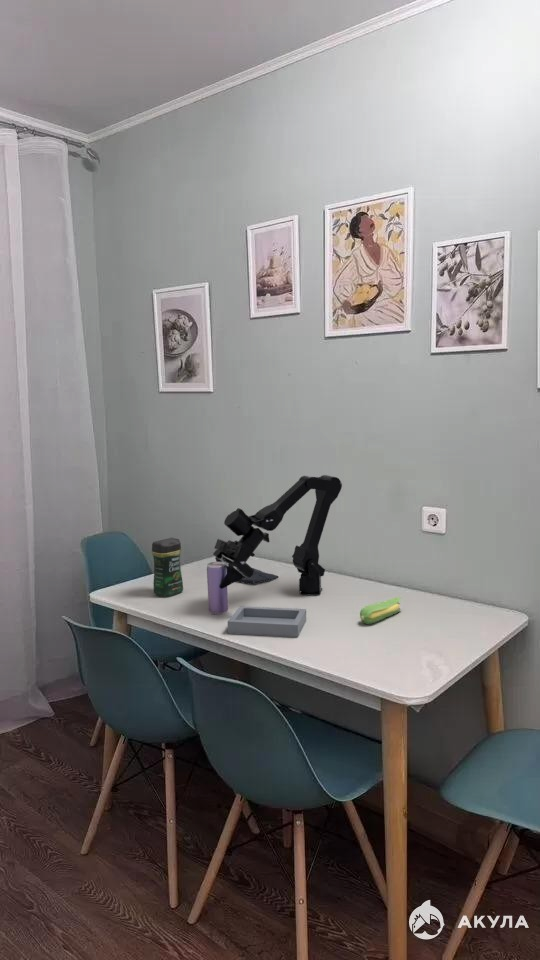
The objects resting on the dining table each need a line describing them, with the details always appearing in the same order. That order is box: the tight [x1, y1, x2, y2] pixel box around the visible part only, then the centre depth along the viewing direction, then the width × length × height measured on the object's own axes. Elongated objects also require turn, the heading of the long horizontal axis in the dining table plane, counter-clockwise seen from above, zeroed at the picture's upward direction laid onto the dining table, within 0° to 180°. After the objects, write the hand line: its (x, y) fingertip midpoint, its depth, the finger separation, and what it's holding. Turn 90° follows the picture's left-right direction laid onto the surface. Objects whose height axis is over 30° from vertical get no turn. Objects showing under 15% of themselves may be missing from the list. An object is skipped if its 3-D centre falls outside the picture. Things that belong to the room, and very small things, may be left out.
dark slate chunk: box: [238, 567, 279, 585], centre depth 248 cm, size 15×22×5 cm
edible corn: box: [359, 596, 402, 625], centre depth 204 cm, size 5×20×5 cm
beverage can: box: [206, 561, 229, 615], centre depth 212 cm, size 6×6×15 cm
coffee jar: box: [151, 537, 184, 598], centre depth 231 cm, size 10×8×19 cm
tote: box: [226, 605, 307, 638], centre depth 199 cm, size 20×13×4 cm, turn 77°
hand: (216, 585), depth 212 cm, fingers closed on beverage can, 6 cm apart
